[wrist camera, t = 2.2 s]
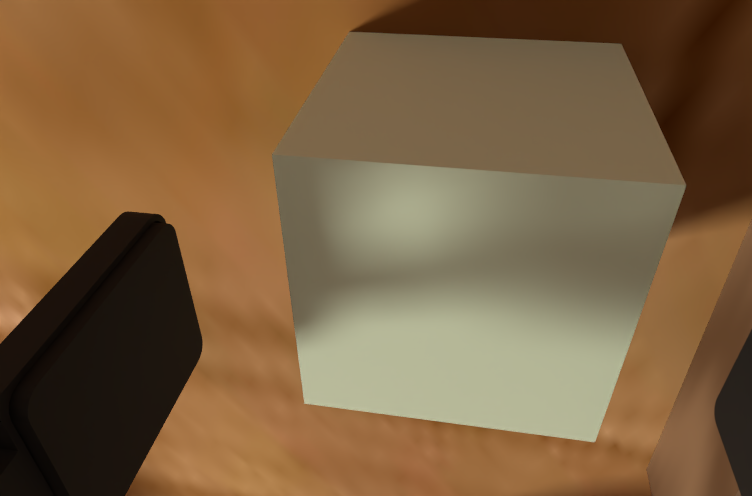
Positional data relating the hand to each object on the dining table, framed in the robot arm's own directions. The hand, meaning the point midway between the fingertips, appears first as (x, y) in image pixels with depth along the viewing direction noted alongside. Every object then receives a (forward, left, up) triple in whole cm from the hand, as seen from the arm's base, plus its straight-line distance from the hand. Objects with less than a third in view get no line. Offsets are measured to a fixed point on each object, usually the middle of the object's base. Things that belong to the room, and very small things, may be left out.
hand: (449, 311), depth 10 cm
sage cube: (-1, 0, -4) cm, 4 cm away
